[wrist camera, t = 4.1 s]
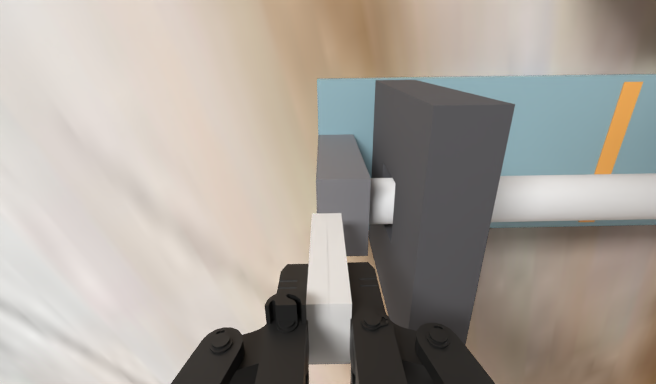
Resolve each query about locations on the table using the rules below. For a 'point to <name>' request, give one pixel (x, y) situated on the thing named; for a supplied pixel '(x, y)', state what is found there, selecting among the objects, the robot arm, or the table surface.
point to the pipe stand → (510, 151)
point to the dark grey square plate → (435, 197)
